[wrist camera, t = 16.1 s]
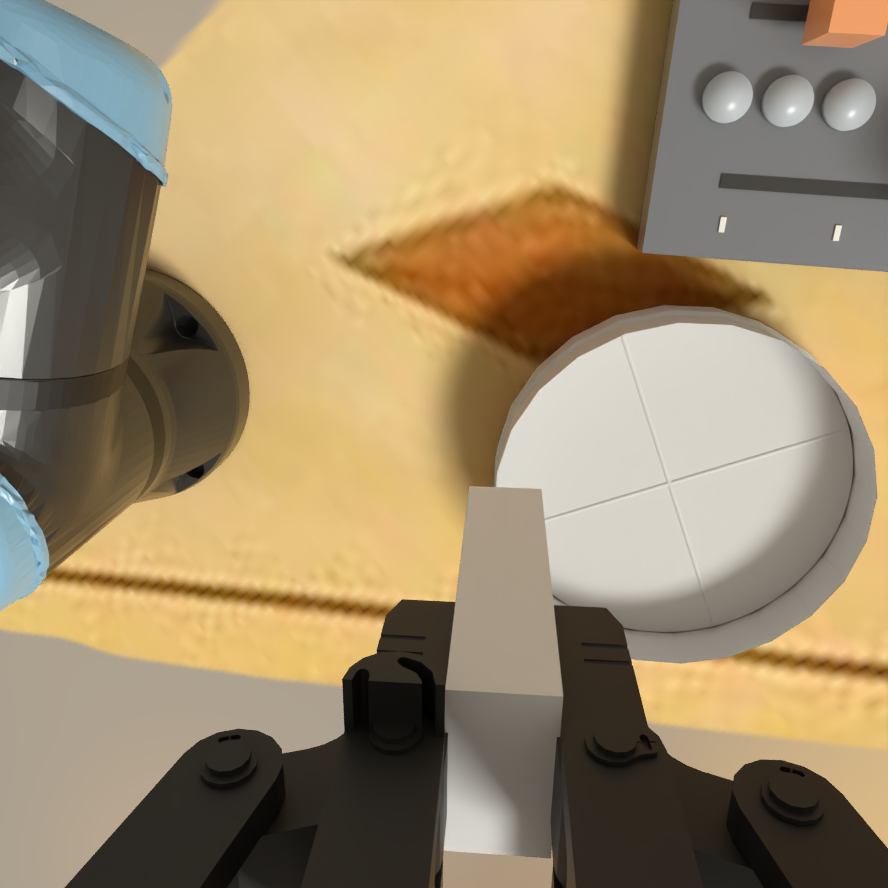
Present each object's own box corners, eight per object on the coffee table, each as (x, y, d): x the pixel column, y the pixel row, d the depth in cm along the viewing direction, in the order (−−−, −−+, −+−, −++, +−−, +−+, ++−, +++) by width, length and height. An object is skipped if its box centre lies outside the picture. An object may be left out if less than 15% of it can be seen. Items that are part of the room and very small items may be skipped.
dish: (802, 248, 44) (835, 257, 39) (879, 572, 50) (915, 613, 45) (445, 374, 49) (436, 395, 44) (555, 656, 55) (557, 701, 50)
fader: (793, 48, 38) (828, 32, 34) (807, -25, 37) (846, -52, 32) (843, 51, 38) (884, 35, 33) (859, -23, 37) (904, -50, 32)
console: (636, 248, 45) (643, 253, 42) (683, -72, 39) (696, -92, 36) (995, 276, 43) (1029, 283, 40) (1097, -54, 37) (1145, -73, 35)
